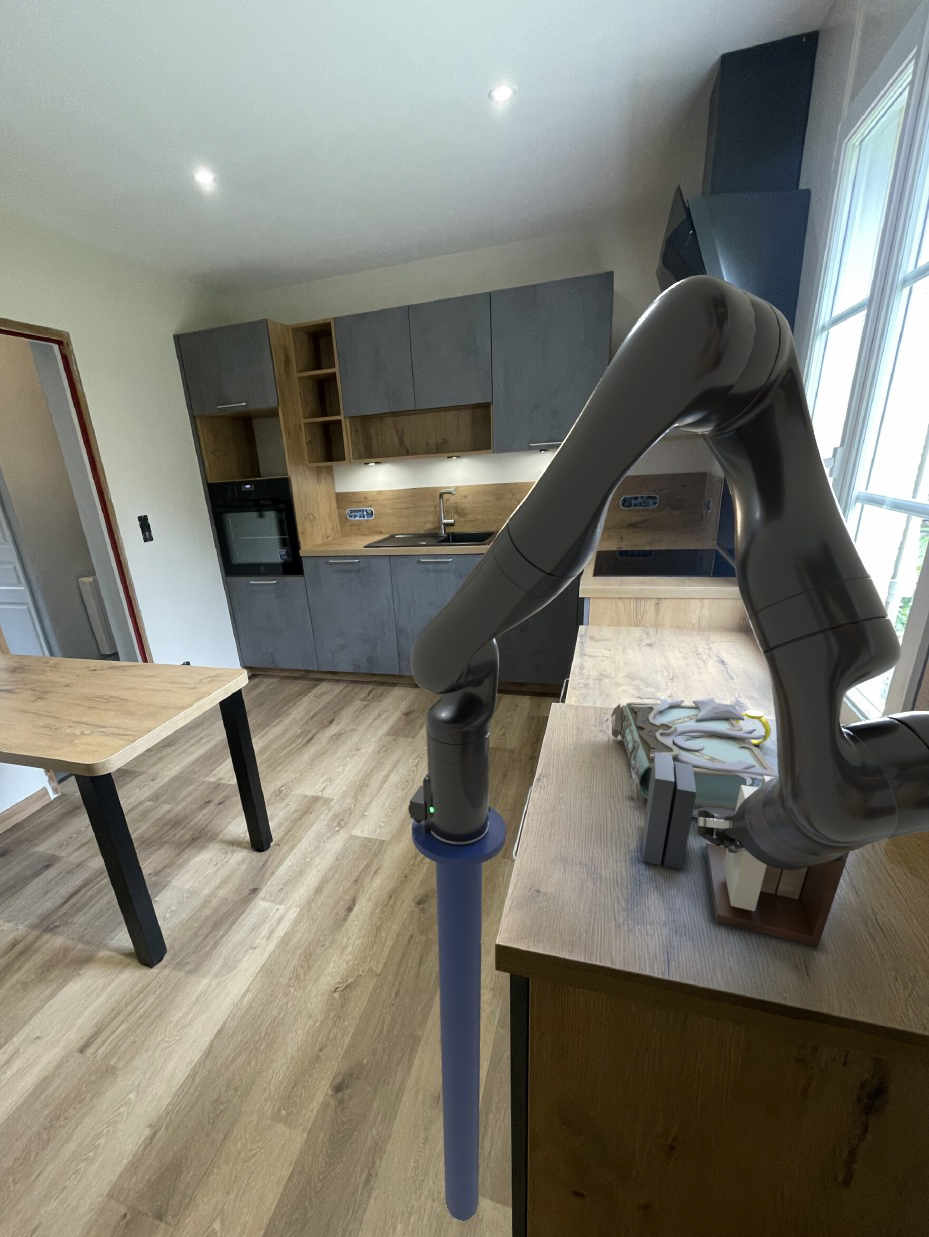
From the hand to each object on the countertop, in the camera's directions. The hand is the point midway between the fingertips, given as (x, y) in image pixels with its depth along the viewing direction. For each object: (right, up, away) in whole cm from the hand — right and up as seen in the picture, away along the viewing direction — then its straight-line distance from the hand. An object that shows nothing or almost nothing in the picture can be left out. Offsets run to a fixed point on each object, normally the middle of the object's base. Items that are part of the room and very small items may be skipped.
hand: (745, 846), depth 62 cm
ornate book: (+7, +3, +28) cm, 29 cm away
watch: (+24, +7, +38) cm, 45 cm away
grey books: (-5, -4, +11) cm, 13 cm away
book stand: (+3, -7, +3) cm, 8 cm away
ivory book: (0, -5, +1) cm, 5 cm away
